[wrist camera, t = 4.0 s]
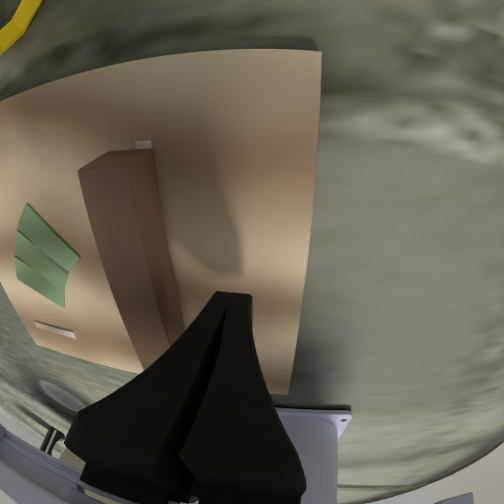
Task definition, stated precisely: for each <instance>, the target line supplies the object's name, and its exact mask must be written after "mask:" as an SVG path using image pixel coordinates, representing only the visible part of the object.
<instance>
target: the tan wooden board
mask: <svg viewBox="0 0 504 504" xmlns="http://www.w3.org/2000/svg"><path fill="white" fill-rule="evenodd" d="M321 65H322V51H309V50H290V49H233V50H214V51H201V52H190V53H181V54H173V55H165V56H158V57H152V58H146V59H140V60H135V61H129V62H124V63H119V64H115V65H110V66H106V67H102V68H97V69H93V70H90V71H86V72H82V73H78V74H75V75H71V76H68V77H65V78H61V79H58V80H55V81H52V82H49V83H46V84H43V85H40V86H37V87H35V88H32V89H29V90H26V91H24V92H21V93H19V94H16V95H14V96H11V97H9V98H6V99H4V100H2V101H0V282H1V284H2V286H3V288H4V290H5V292H6V293H7V295H8V297H9V299H10V301H11V303H12V305H13V306H14V308H15V310H16V312H17V313H18V315H19V317H20V319H21V320H22V322H23V324H24V325H25V327H26V328H27V330H28V332H29V333H30V335H31V337H32V338H33V340H34V341H35V343H36V344H37V345H40V346H43V347H46V348H49V349H52V350H55V351H58V352H61V353H64V354H67V355H70V356H74V357H77V358H80V359H84V360H87V361H91V362H94V363H98V364H102V365H106V366H109V367H113V368H117V369H121V370H125V371H130V372H134V373H138V374H140V373H141V372H143V371H144V369H143V367H142V365H141V363H140V361H139V358H138V356H137V354H136V352H135V349H134V347H133V345H132V342H131V340H130V338H129V335H128V333H127V330H126V328H125V325H124V323H123V320H122V318H121V315H120V313H119V310H118V308H117V305H116V302H115V300H114V297H113V294H112V291H111V288H110V286H109V283H108V280H107V277H106V274H105V271H104V268H103V265H102V262H101V259H100V256H99V252H98V249H97V246H96V243H95V239H94V236H93V232H92V229H91V225H90V222H89V218H88V214H87V210H86V206H85V202H84V198H83V194H82V190H81V186H80V181H79V177H78V172H77V170H79V169H80V168H82V167H83V166H85V165H87V164H88V163H90V162H91V161H93V160H94V159H96V158H98V157H99V156H101V155H102V154H104V153H106V152H108V151H119V150H133V149H148V148H154V153H155V162H156V169H157V177H158V184H159V191H160V198H161V205H162V211H163V218H164V224H165V230H166V236H167V241H168V247H169V253H170V258H171V263H172V269H173V274H174V279H175V284H176V289H177V293H178V298H179V303H180V308H181V312H182V317H183V321H184V325H185V330H186V329H187V328H188V327H189V325H190V324H191V323H192V322H193V320H194V319H195V318H196V317H197V316H198V314H199V313H200V312H201V310H202V309H203V308H204V306H205V305H206V304H207V302H208V301H209V300H210V298H211V297H212V295H213V294H214V293H215V292H216V291H222V292H233V293H245V294H250V295H251V296H252V297H253V336H254V342H255V347H256V352H257V356H258V360H259V364H260V367H261V371H262V374H263V377H264V380H265V383H266V386H267V389H268V392H269V394H280V395H288V392H289V387H290V381H291V375H292V369H293V362H294V356H295V350H296V343H297V336H298V330H299V323H300V316H301V308H302V301H303V293H304V285H305V277H306V269H307V260H308V251H309V242H310V233H311V223H312V212H313V201H314V190H315V178H316V165H317V150H318V135H319V117H320V95H321Z"/></svg>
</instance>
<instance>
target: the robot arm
mask: <svg viewBox="0 0 504 504" xmlns="http://www.w3.org/2000/svg"><path fill="white" fill-rule="evenodd" d="M351 418H352V412H351V411H349V410H309V409H290V408H275V406H274V404H273V402H272V399H271V397H270V394H269V392H268V389H267V386H266V383H265V380H264V377H263V374H262V371H261V367H260V364H259V360H258V356H257V352H256V347H255V342H254V336H253V297H252V296H251V295H250V294H245V293H233V292H222V291H216V292H215V293H214V294H213V295H212V297H211V298H210V300H209V301H208V302H207V304H206V305H205V306H204V308H203V309H202V310H201V312H200V313H199V314H198V316H197V317H196V318H195V319H194V320H193V322H192V323H191V324H190V325H189V327H188V328H187V329H186V330H185V331H184V332H183V334H182V335H181V336H180V337H179V338H178V339H177V340H176V341H175V342H174V343H173V344H172V345H171V346H170V347H169V348H168V349H167V350H166V351H165V352H164V353H163V354H162V355H161V356H160V357H159V358H158V359H157V360H156V361H155V362H153V363H152V364H151V365H150V366H149V367H148V368H146V369H145V370H144V371H143V372H141V373H140V374H139V375H138V376H136V377H135V378H134V379H132V380H131V381H130V382H128V383H127V384H125V385H124V386H122V387H121V388H119V389H118V390H116V391H114V392H113V393H111V394H110V395H108V396H107V397H105V398H103V399H101V400H99V401H98V402H96V403H94V404H92V405H90V406H88V407H86V408H84V409H82V410H80V411H79V412H78V414H77V415H76V417H75V419H74V420H73V423H72V425H71V427H70V429H69V432H68V434H67V436H66V439H65V441H64V444H65V446H66V447H67V448H68V449H69V450H70V451H71V452H72V453H74V454H75V455H76V456H78V457H79V458H80V459H82V460H83V461H84V462H86V463H85V466H84V469H83V471H82V470H80V469H77V468H75V467H73V466H71V465H69V464H67V463H65V462H63V461H60V460H58V459H56V458H54V457H53V456H51V455H49V454H47V453H45V452H43V451H41V450H39V449H38V448H35V447H34V446H32V445H30V444H29V443H27V442H25V441H24V440H22V439H20V438H19V437H17V436H15V435H13V434H12V433H11V432H9V431H7V430H6V429H5V427H3V426H2V425H1V424H0V489H1V490H2V491H3V492H4V493H6V494H7V495H8V496H9V497H10V498H11V499H13V500H14V501H15V502H17V503H18V504H106V503H104V502H102V501H99V500H97V499H95V498H92V497H90V496H88V495H86V494H85V490H84V489H86V490H88V491H91V492H93V493H95V494H98V495H100V496H103V497H105V498H108V499H110V500H113V501H115V502H118V503H121V504H180V502H183V503H187V504H188V503H194V502H196V501H198V500H199V502H198V504H337V477H338V439H339V438H340V436H341V434H342V433H343V431H344V430H345V428H346V426H347V425H348V423H349V421H350V420H351ZM83 488H84V489H83ZM434 504H474V502H473V493H472V492H469V493H466V494H463V495H459V496H456V497H452V498H448V499H445V500H442V501H439V502H436V503H434Z"/></svg>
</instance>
